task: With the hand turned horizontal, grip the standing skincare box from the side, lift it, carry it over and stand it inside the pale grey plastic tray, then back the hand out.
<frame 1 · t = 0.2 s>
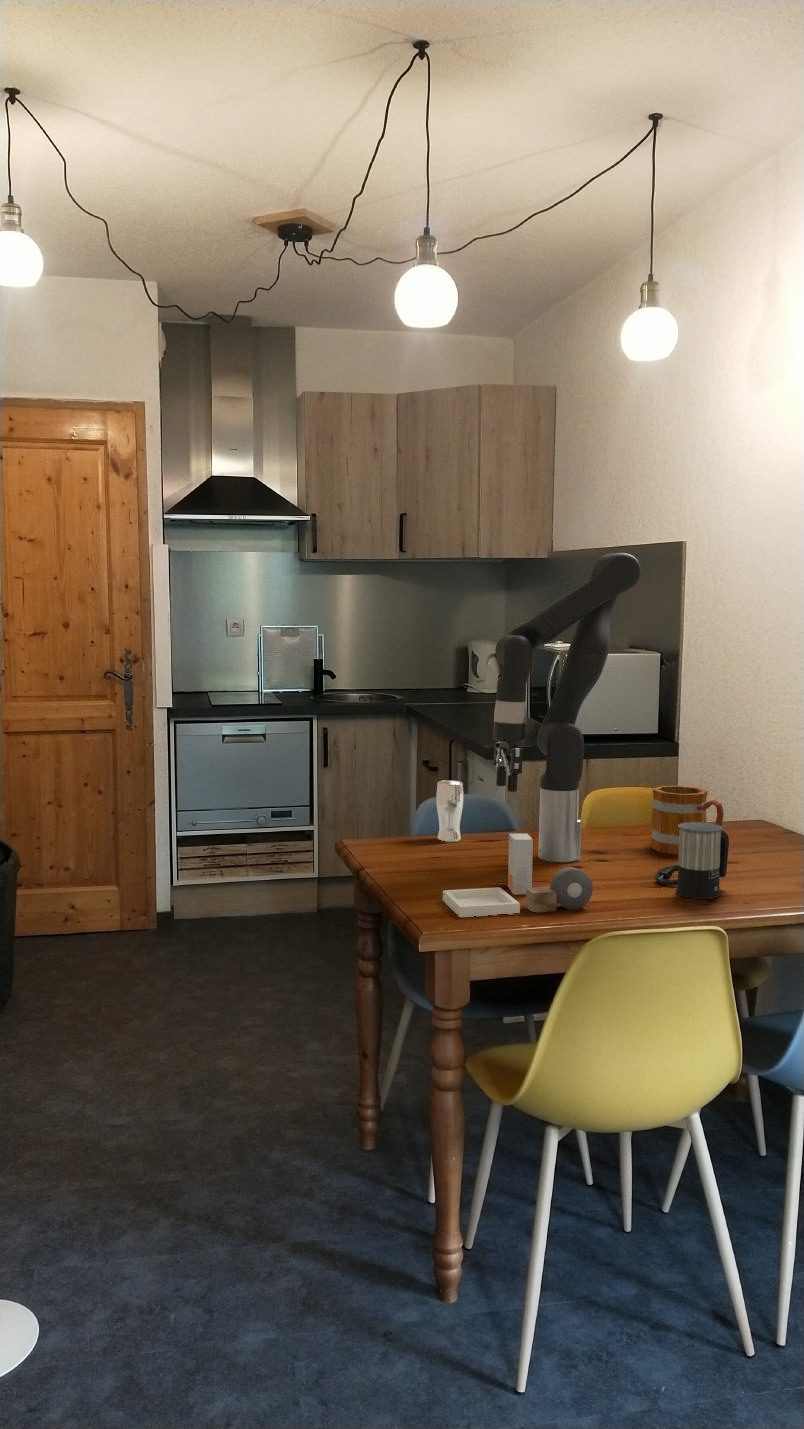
hand: (506, 788, 259), 18 cm above the table, tool pointing down, fingers open, 8 cm apart
beer glass: (449, 840, 284), on the table
milk frother: (686, 890, 238), on the table
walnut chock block: (540, 909, 222), on the table
mug: (687, 851, 274), on the table
skincare box: (519, 891, 235), on the table
tray: (480, 907, 223), on the table
trolley wheel: (570, 907, 223), on the table
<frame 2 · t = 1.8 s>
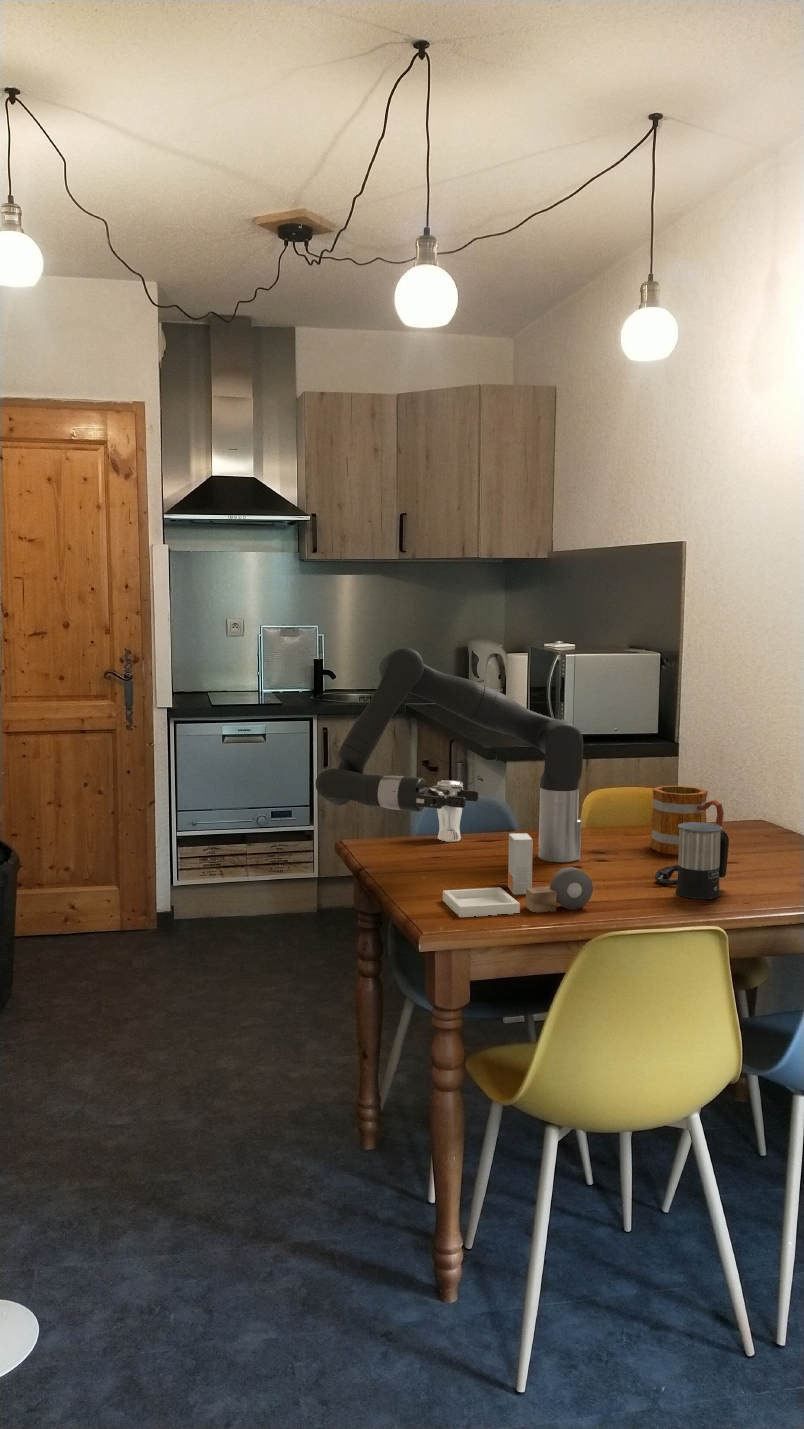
hand: (471, 799, 237), 19 cm above the table, tool horizontal, fingers open, 8 cm apart
nothing on the table moved.
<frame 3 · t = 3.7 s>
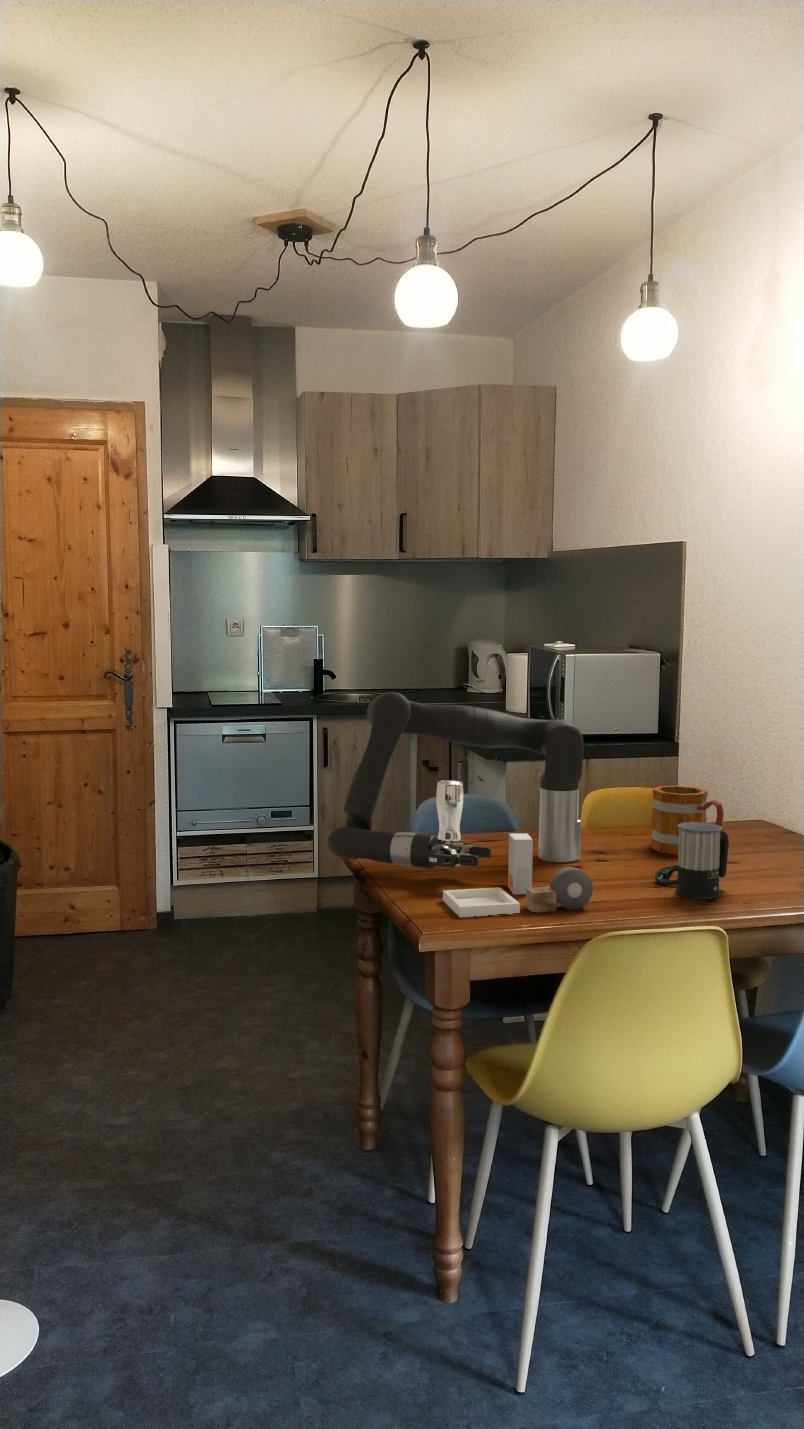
hand: (484, 857, 238), 7 cm above the table, tool horizontal, fingers open, 8 cm apart
nothing on the table moved.
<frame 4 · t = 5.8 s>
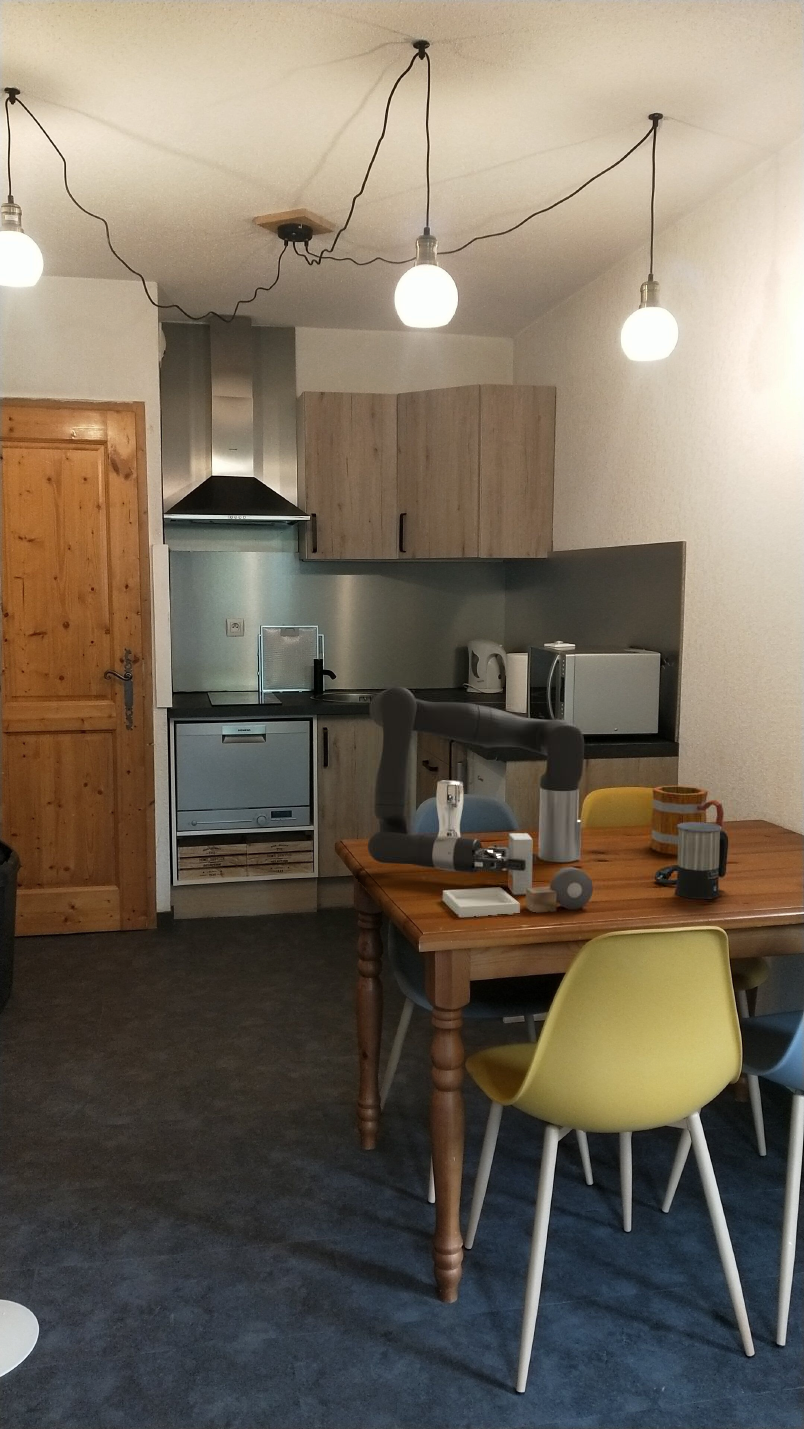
hand: (530, 861, 234), 7 cm above the table, tool horizontal, fingers closed on skincare box, 7 cm apart
skincare box: (519, 891, 235), on the table, touching gripper
everything else where it was.
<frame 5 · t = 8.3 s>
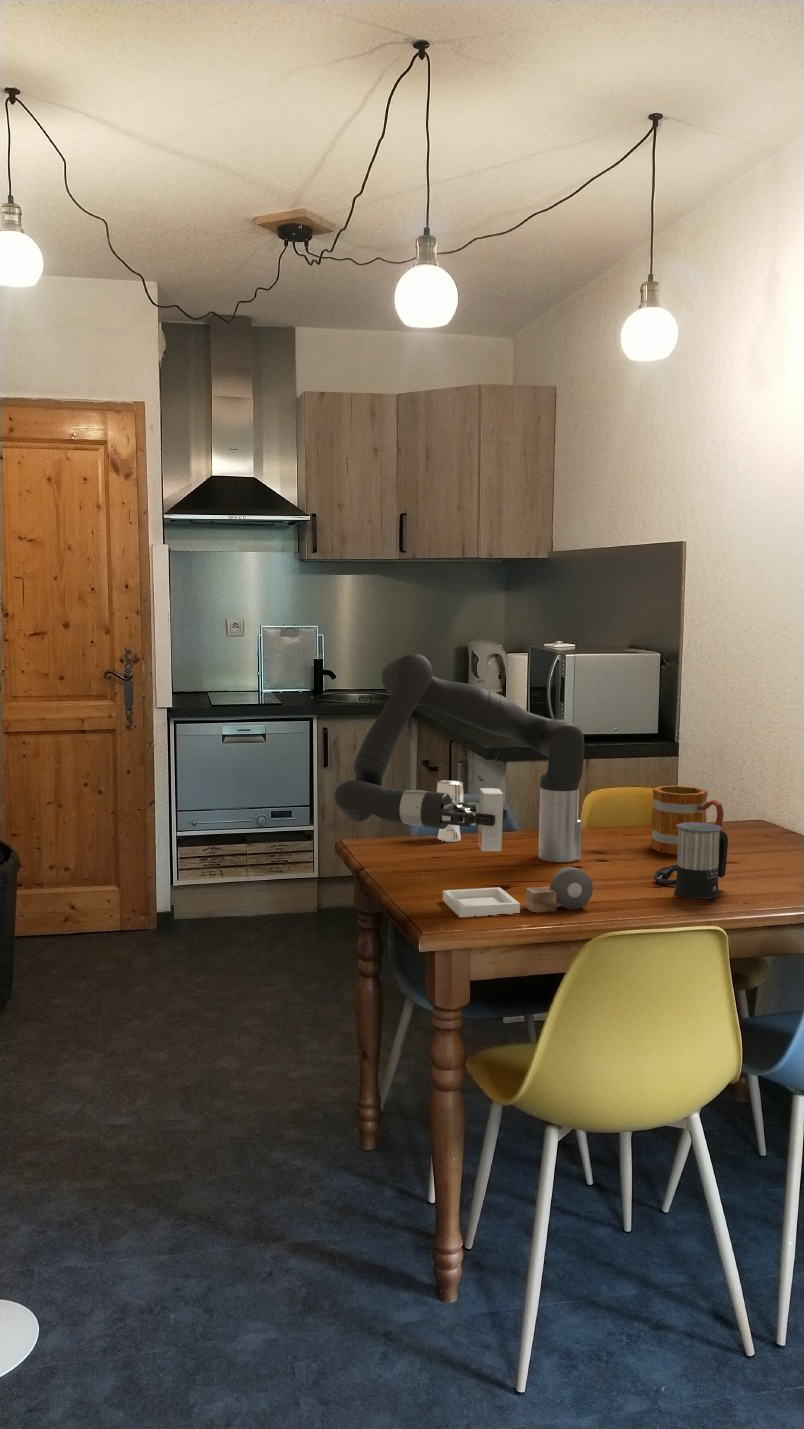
hand: (500, 817, 224), 18 cm above the table, tool horizontal, fingers closed on skincare box, 7 cm apart
skincare box: (489, 849, 226), point 11 cm above the table, touching gripper
everything else where it was.
when the fingers open (8 cm above the table, at t = 11.1 s): skincare box drops 1 cm, resting on tray.
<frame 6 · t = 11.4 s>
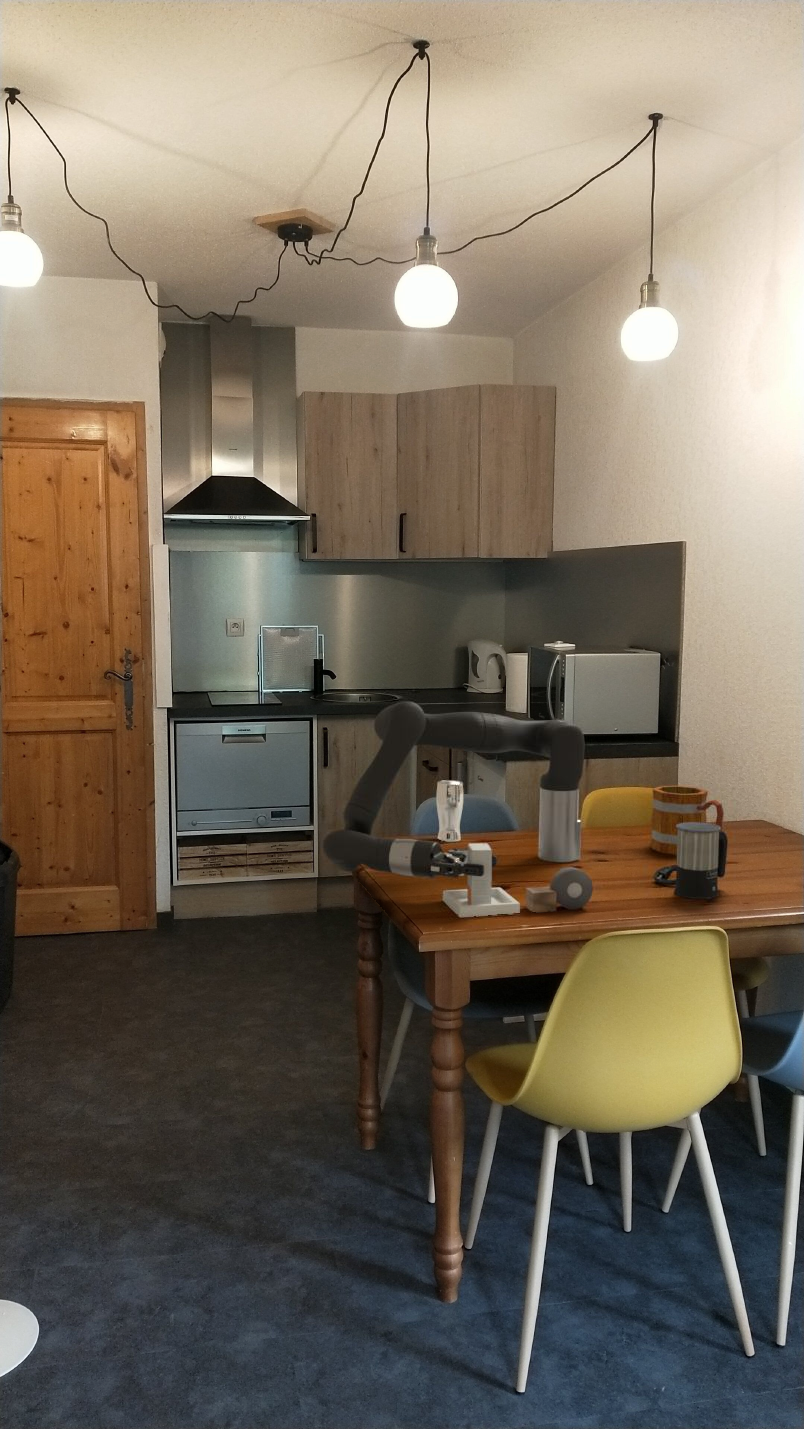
hand: (490, 866, 221), 9 cm above the table, tool horizontal, fingers open, 8 cm apart
skincare box: (478, 905, 223), resting on tray
everything else where it was.
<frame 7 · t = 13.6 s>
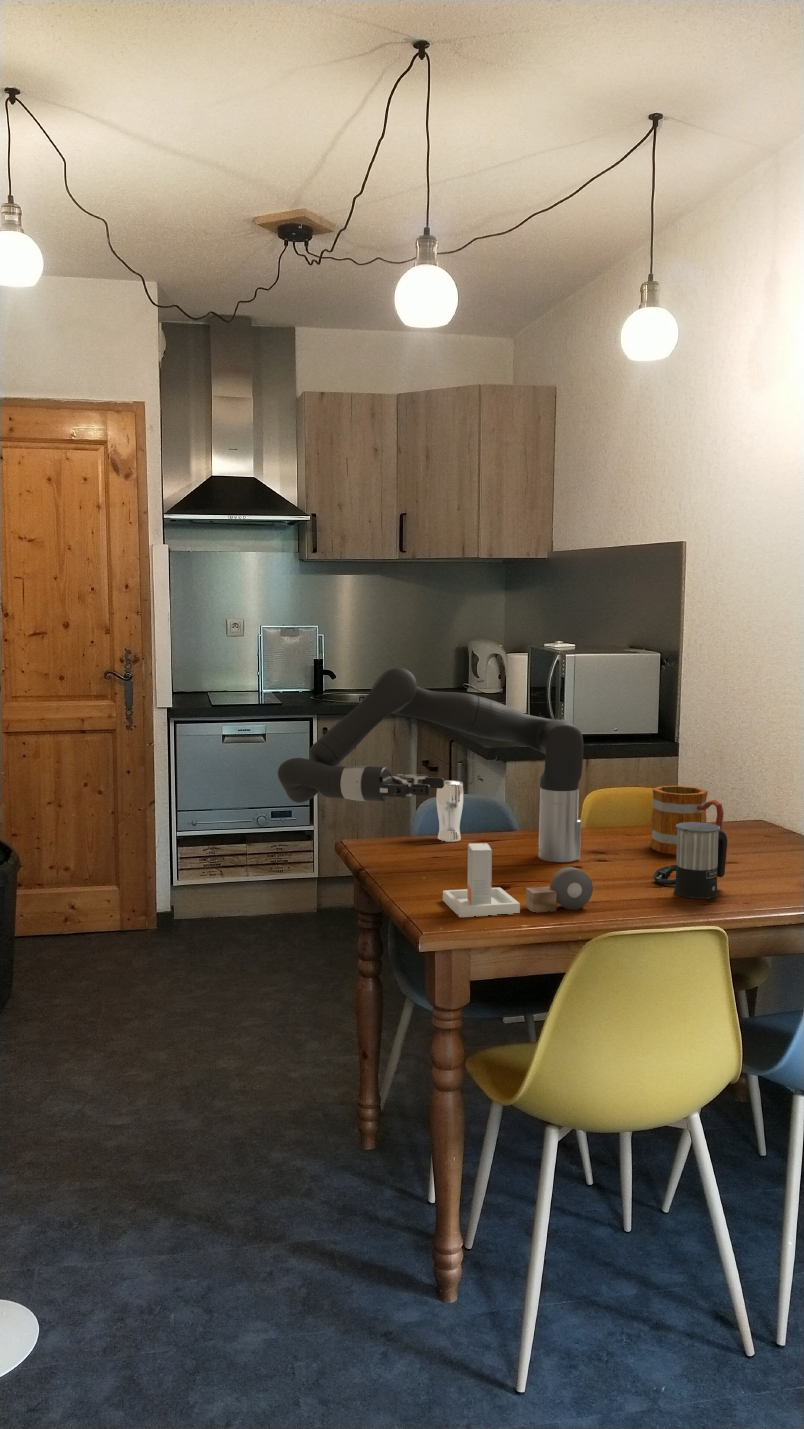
hand: (436, 786, 231), 23 cm above the table, tool horizontal, fingers open, 8 cm apart
nothing on the table moved.
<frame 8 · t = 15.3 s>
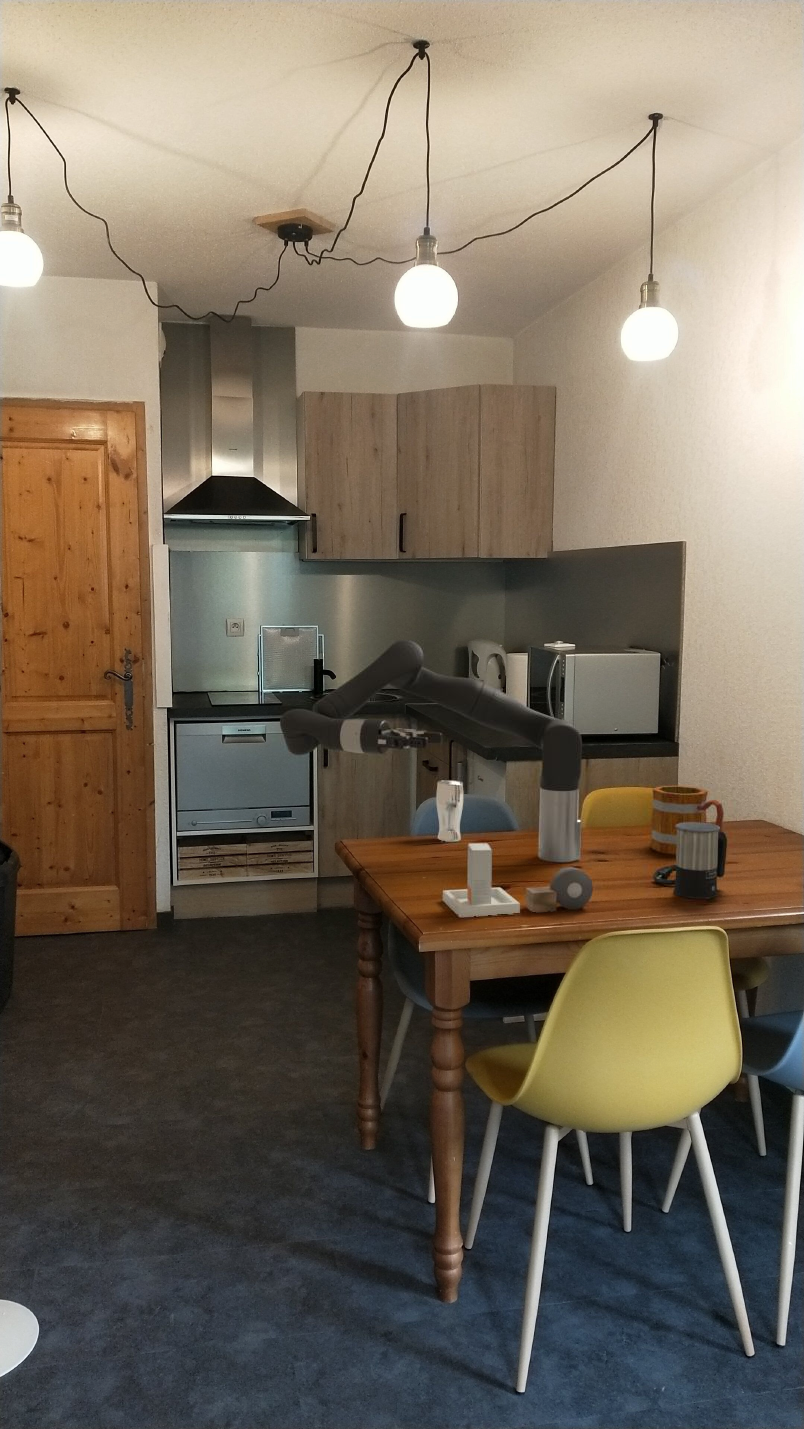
hand: (434, 740, 234), 32 cm above the table, tool horizontal, fingers open, 8 cm apart
nothing on the table moved.
at the end: skincare box inside the target area on the tray (0.4 cm from its centre), point 0.4 cm above the tray's base; skincare box tilted 0°; the gripper is holding nothing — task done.
